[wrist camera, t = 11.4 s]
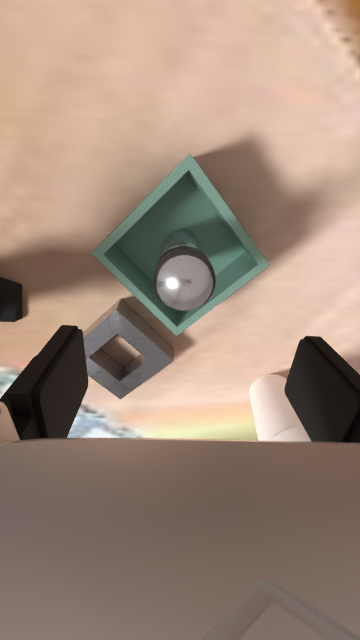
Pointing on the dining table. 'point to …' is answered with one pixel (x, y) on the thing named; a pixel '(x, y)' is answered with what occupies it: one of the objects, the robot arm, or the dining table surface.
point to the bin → (181, 214)
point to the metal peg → (183, 273)
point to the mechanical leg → (10, 301)
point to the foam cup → (275, 411)
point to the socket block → (137, 335)
